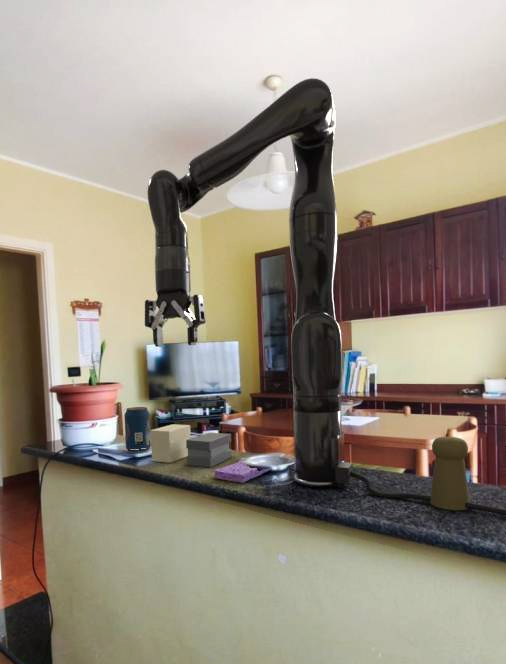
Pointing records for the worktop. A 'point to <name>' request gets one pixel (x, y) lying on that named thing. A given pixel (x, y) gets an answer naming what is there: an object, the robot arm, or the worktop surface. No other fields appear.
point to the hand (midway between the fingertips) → (175, 345)
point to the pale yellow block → (170, 432)
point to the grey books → (208, 449)
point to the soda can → (137, 429)
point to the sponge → (238, 472)
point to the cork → (449, 474)
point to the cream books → (169, 450)
